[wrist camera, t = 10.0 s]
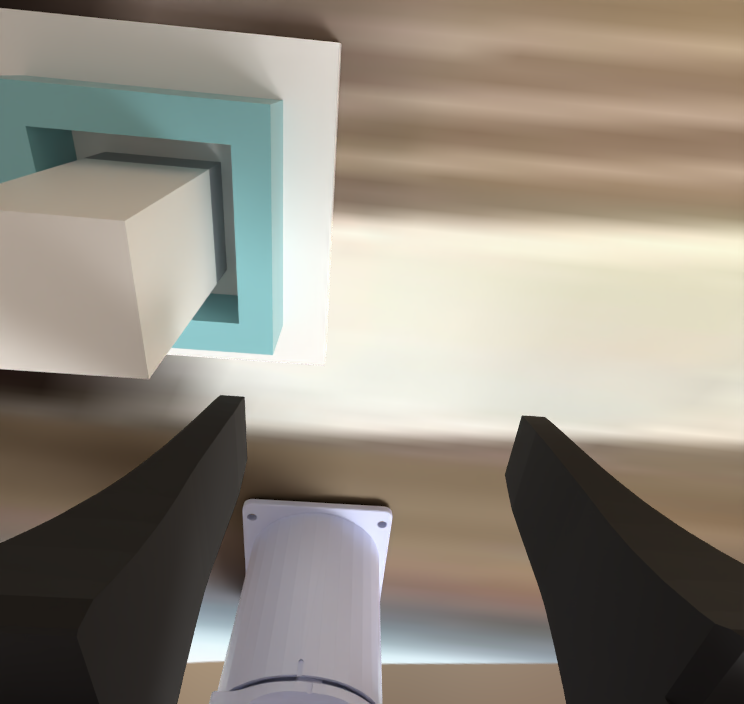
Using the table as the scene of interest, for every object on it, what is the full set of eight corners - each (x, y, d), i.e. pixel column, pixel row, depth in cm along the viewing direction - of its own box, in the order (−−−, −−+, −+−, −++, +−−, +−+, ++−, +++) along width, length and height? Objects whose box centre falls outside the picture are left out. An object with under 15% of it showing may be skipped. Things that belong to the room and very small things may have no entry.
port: (326, 354, 23) (319, 398, 20) (53, 334, 22) (2, 377, 19) (341, 44, 17) (335, 37, 14) (-29, 6, 16) (-121, -10, 13)
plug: (226, 269, 20) (149, 378, 13) (122, 261, 19) (-16, 368, 12) (220, 162, 18) (125, 220, 11) (105, 151, 17) (-70, 204, 10)
